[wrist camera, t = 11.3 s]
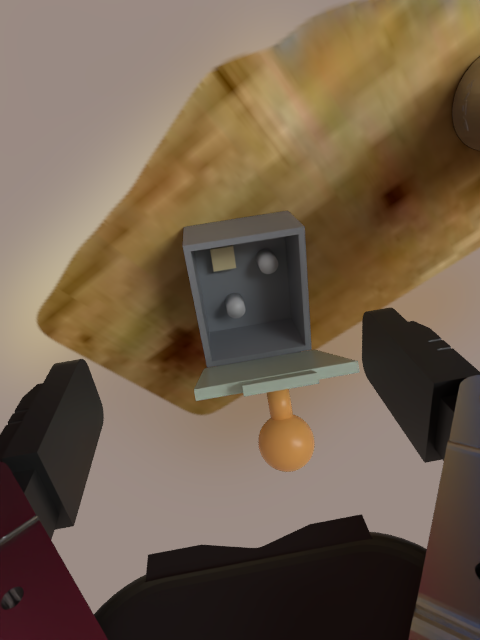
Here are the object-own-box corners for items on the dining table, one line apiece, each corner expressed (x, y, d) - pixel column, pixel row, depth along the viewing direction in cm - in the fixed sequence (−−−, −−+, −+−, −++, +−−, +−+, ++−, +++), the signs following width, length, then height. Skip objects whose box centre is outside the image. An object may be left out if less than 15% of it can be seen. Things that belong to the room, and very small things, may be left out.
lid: (366, 363, 26) (384, 468, 26) (314, 349, 42) (325, 416, 42) (191, 393, 26) (209, 501, 26) (204, 368, 41) (215, 435, 41)
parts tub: (287, 210, 42) (304, 226, 36) (296, 324, 48) (311, 354, 42) (183, 226, 42) (182, 246, 35) (205, 339, 48) (208, 372, 42)
